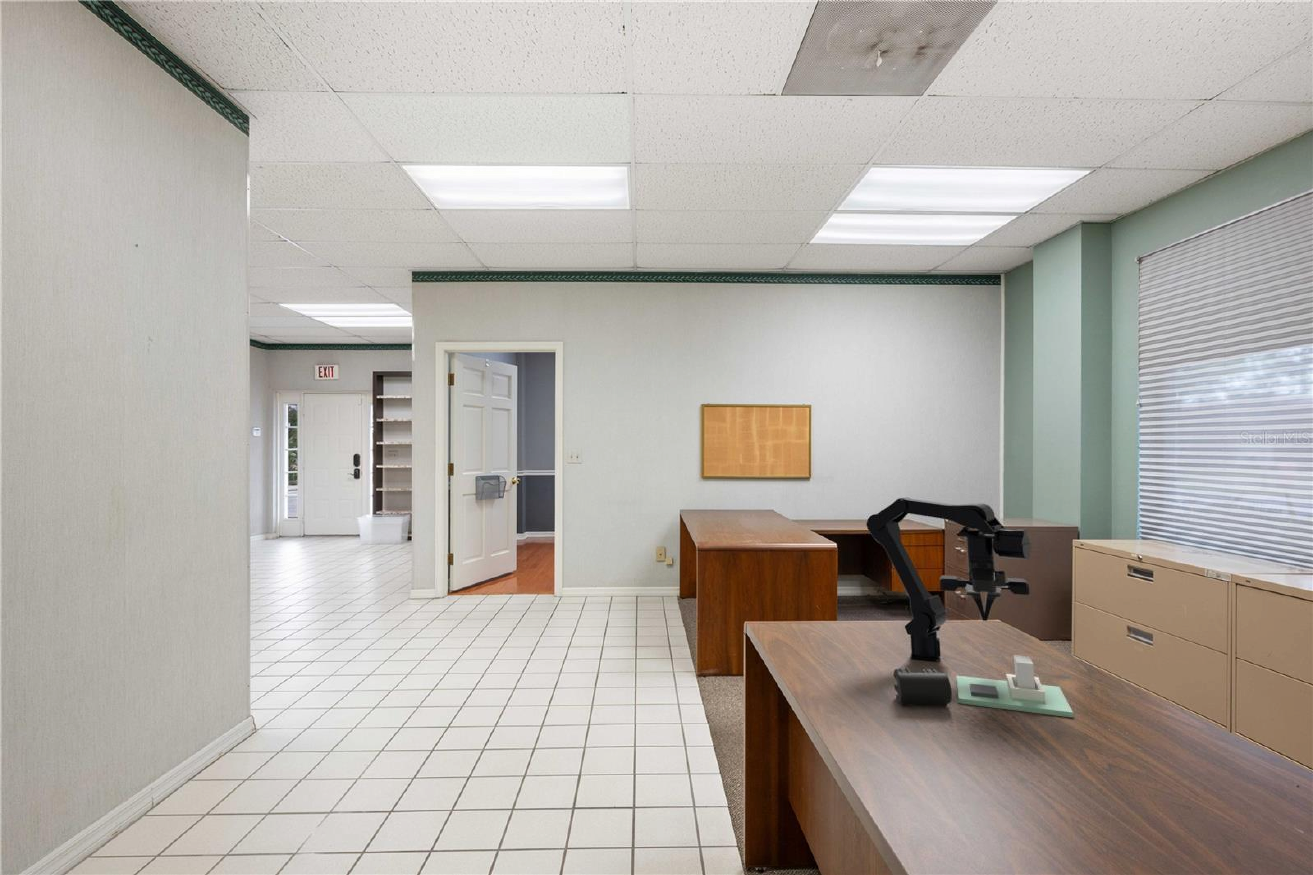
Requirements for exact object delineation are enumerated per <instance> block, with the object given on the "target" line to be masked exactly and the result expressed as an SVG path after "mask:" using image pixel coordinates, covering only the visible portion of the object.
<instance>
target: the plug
mask: <svg viewBox="0 0 1313 875" xmlns="http://www.w3.org/2000/svg"><path fill="white" fill-rule="evenodd" d="M1013 663H1014V675H1015V680H1016V687H1018V688H1026V689H1035V681H1034V677H1035V670H1034V662H1033V660H1032V658H1031V656H1028V655H1018V654H1013Z"/></svg>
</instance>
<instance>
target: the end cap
mask: <svg viewBox="0 0 1313 875" xmlns="http://www.w3.org/2000/svg"><path fill="white" fill-rule="evenodd" d="M921 671H922V672H912V671H910V669H908V668H896V669H894V670H893V677H894V679H895V681H896V683H894V685H893V687H894V691H895V692H896V694H895V697H896V700H897V701H898V703H899V704H900V705H901V706H921V707H923V706H927V707H931V706H932V707H947V706H948V705H949V704H950V703H951V702H952V699H953V694H952V686H951V681H950V678H949V677H948V675H947V673H946V672H939V671H938V670H936V669H934V668H931V669H930V668H929V669H927V668H924V669H923V668H922V670H921Z"/></svg>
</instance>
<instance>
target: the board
mask: <svg viewBox="0 0 1313 875" xmlns="http://www.w3.org/2000/svg"><path fill="white" fill-rule="evenodd" d="M1005 675H1006V680H999V679H990V678H982V677H972V676H964V675H962V676H961V675H956V685H957V686H956V687H957V698H958V704H962V705H963V704H964V705H970V706H980V707H986V708H987V707H988V708H995V709H1000V710H1001V709H1003V710H1010V711H1019V712H1026V713H1034V714H1041V715H1048V716H1049V715H1050V716H1057V717H1058V716H1059V717H1063V718H1064V717H1066V718H1074V712H1073V709H1072V708H1071V706H1070V704H1069V702H1068V700H1067V699H1066V696H1065V695H1064V693H1063V691H1062V689H1061V687H1060V686H1056V685H1045V684H1042V683H1041V681H1040V678H1039V676H1034V681H1035V689H1026V688H1018V687H1016V680H1015V674H1011V673H1005Z"/></svg>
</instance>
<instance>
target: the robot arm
mask: <svg viewBox="0 0 1313 875" xmlns="http://www.w3.org/2000/svg"><path fill="white" fill-rule="evenodd" d="M908 514H909V515H917V516H923V517H928V518H929V517H930V518H936V519H941V520H948V521H951V522H954V523H956V525H959V526H963V527H962V528H961V530H959V532H957V533H956V537H963V538H966V554H967V568H968V569H967V570H968V579H958V576H957V575H949V574H947V575H945V574H944V575H943V574H942V575H941V576H939V587H940V591H945V592H946V591H949V592H955V591H956V590H958V589H959V588H965V593H966V595H968V596H971V597H972V599H973V600H974V602H975V604H976V606H977V609H978V611H979V614H980V617H981V618H982V621H983V622H987V621H988V618H989V615H990V613H991V608H992V605H993V604H994V602H995V600H996V598H1000V597H1002V594H1001V591H1002V590H1008V591H1010V592H1011V593H1012V594H1013V595H1020V596H1021V595H1024V596H1027V595H1030V585H1029V583H1028V581H1026V580H1025V579H1024V578H1019V577H1018V578H1017V577H1016V578H1015V577H1007V578H1006V574H1005V571H1004V570H996V565H995V564H996V561H995V555H998V556H999V558H1004V559H1005V558H1006V559H1015V560H1017V559H1018V560H1025V561H1026V560H1029V559H1030V557H1031V555H1032V543H1031V541H1030V538H1029V536H1028V535H1027V530H1026V529H1006V528H1005V526H1004V525H1003V524H1002V523H1001V522H1000V521H999V519H998V518H997V517H996V516H995V512H994V510H993V508H992V507H991V506H990V505H989V504H986V503H961V504H958V503H957V504H953V503H952V504H951V503H946V502H945V503H944V502H937V501H929V500H924V499H915V498H911V497H899V498H896V500H895V501H893V502H892V503H891V504H889V505H888V506H887V507H885V508H883V509H882V510H880V511H879V512H878V513H873V514H872V515H870V516H869V517H868V519H867V521H866V528H867V530H868V532H869V533H870V534H871V536H872V537H873V539H874V540H875V541H876V542H877V543H878V544H880V546H882V547H883V549H884V550H885V551H886V554H887V556H888V558H889V560H890V561H891V563H892V566H893V568H894V570H895V571H896V574H897V575H898V577H899V580H900V581H901V583H902V585H903V588H904V589H905V591H906V594H908V597H909V607H910V608H909V609H910V610H909V611H910V612H911V615H912V619H911V620H910V621H909V622H908V623H906V624H905V625H904V628H905V631H906V633H907V635H909V636H910V649H911V650H910V651H911V652H910V658H911V659H913V660H914V659H915V660H923V661H931V662H932V661H933V662H939V660H940V657H941V643H940V642H941V640H940V637H938V634H937V632H938V631H940V629H941V626H943V625H944V624H945V623H946V620H947V613H946V611H948V609H947V608H946V607H945V605H944V604H943V602H942V599H941V597H940V595H938V594H937V595H936V594H935V595H934V596H933V594H931V593H930V592H929V591H928V589H927V588H926V586H925V585H924V582H923V581H922V579H921V577H920V575H919V573H918V571H917V569H916V567H915V566H914V562H913V561H912V559H911V557H910V556H909V554H908V552H907V550H906V548H905V546H904V544H903V542H902V537H901V535H902V534H901V533H902V532H901V527H900V525H899V524H900V522H902V521H903V520H904V519H905V518H906V517H907V516H908ZM981 592H982V593H983V592H984V593H985V595H984V604H983V601H982V595H981Z"/></svg>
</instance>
